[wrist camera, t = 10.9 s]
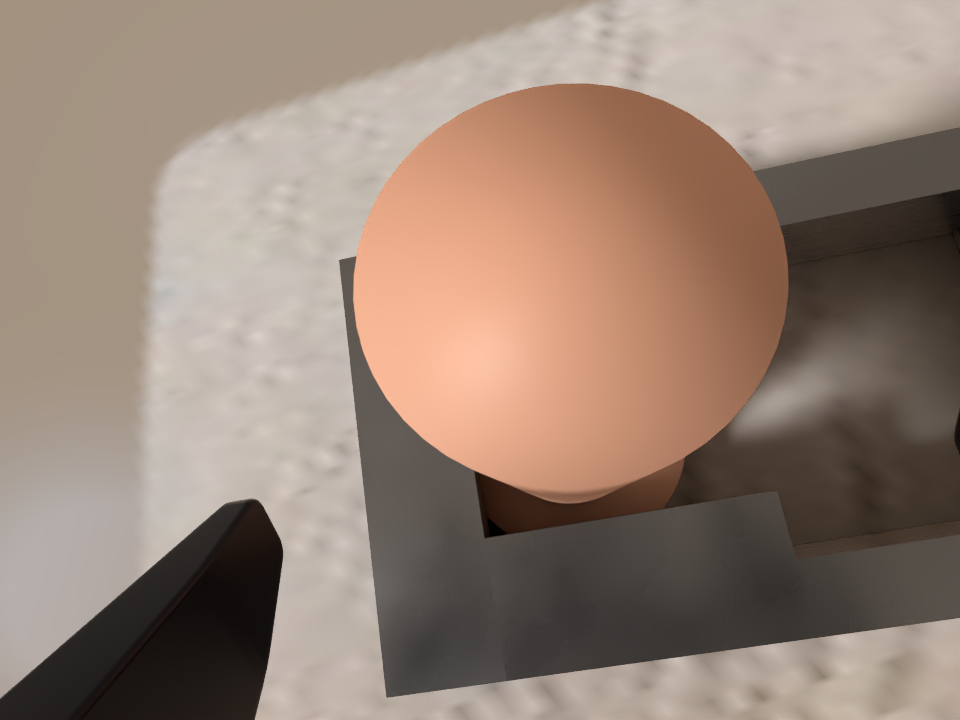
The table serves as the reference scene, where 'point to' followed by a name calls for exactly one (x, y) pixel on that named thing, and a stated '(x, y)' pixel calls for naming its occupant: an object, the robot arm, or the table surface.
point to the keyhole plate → (657, 533)
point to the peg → (571, 297)
